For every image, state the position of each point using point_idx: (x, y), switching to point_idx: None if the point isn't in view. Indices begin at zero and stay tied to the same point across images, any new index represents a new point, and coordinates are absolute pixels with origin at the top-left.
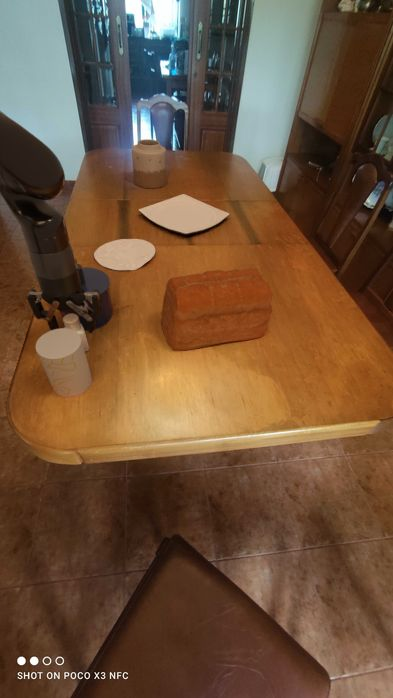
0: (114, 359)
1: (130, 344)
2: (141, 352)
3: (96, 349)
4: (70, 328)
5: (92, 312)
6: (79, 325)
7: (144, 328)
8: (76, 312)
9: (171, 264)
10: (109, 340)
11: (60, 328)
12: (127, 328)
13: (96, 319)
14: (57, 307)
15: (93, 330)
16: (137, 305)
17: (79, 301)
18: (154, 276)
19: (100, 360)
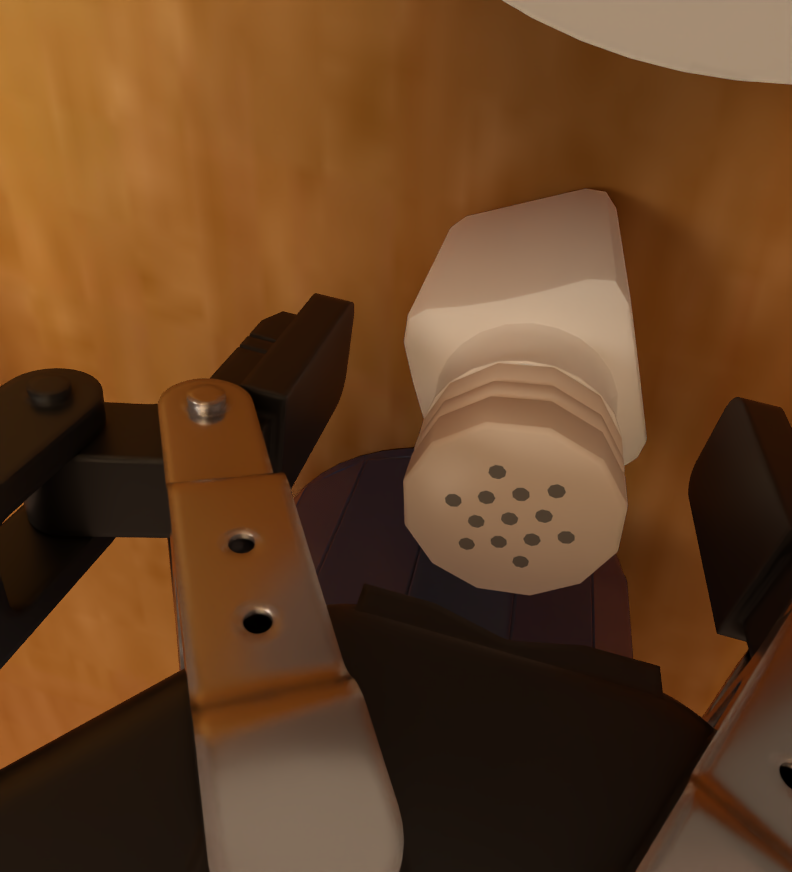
0: (226, 42)
1: (113, 214)
2: (4, 87)
3: (391, 222)
4: (549, 370)
5: (139, 502)
6: (433, 408)
7: (41, 360)
8: (478, 610)
9: (7, 755)
10: (285, 303)
11: (775, 77)
12: (161, 393)
13: (345, 510)
14: (694, 786)
15: (293, 316)
16: (127, 566)
17: (72, 786)
18: (73, 719)
19: (356, 57)
